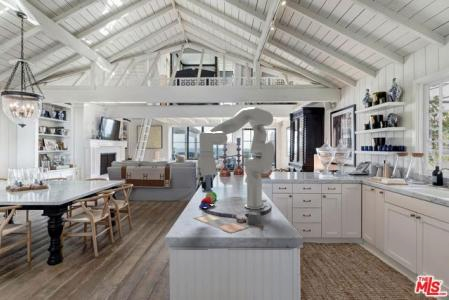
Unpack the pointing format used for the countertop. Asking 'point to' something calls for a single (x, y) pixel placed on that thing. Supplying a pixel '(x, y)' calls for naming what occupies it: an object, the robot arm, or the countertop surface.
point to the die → (254, 218)
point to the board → (221, 223)
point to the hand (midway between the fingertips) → (207, 187)
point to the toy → (208, 200)
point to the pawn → (207, 184)
